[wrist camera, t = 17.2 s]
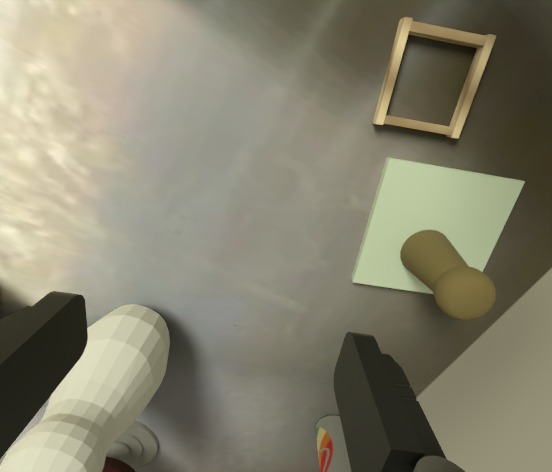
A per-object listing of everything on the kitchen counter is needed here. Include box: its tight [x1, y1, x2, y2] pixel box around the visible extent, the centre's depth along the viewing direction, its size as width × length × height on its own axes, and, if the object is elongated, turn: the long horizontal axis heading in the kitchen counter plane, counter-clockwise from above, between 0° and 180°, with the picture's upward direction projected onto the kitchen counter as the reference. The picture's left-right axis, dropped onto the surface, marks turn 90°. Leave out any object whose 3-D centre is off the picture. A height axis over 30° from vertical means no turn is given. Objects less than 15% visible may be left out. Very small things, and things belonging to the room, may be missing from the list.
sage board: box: [351, 157, 525, 294], centre depth 38 cm, size 16×16×1 cm
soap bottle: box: [0, 304, 170, 472], centre depth 31 cm, size 17×12×29 cm
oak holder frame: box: [372, 17, 497, 139], centre depth 32 cm, size 10×9×1 cm
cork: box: [400, 230, 496, 320], centre depth 33 cm, size 6×6×11 cm
